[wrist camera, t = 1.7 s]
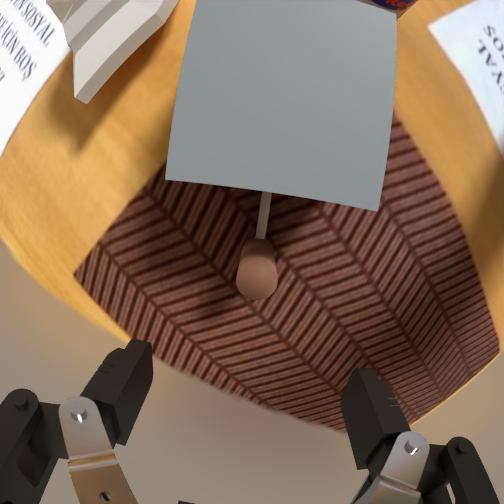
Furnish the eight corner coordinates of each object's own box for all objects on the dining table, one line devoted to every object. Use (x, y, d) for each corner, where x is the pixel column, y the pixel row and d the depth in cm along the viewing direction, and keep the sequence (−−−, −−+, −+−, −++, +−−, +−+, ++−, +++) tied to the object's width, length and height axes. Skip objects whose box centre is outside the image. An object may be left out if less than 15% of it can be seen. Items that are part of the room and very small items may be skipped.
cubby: (347, 64, 21) (396, 14, 11) (330, 190, 25) (377, 211, 14) (224, 44, 21) (202, -20, 11) (205, 171, 25) (165, 179, 14)
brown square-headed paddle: (310, 90, 22) (328, 67, 16) (282, 269, 27) (289, 304, 20) (253, 81, 22) (250, 54, 16) (228, 261, 27) (218, 294, 20)
